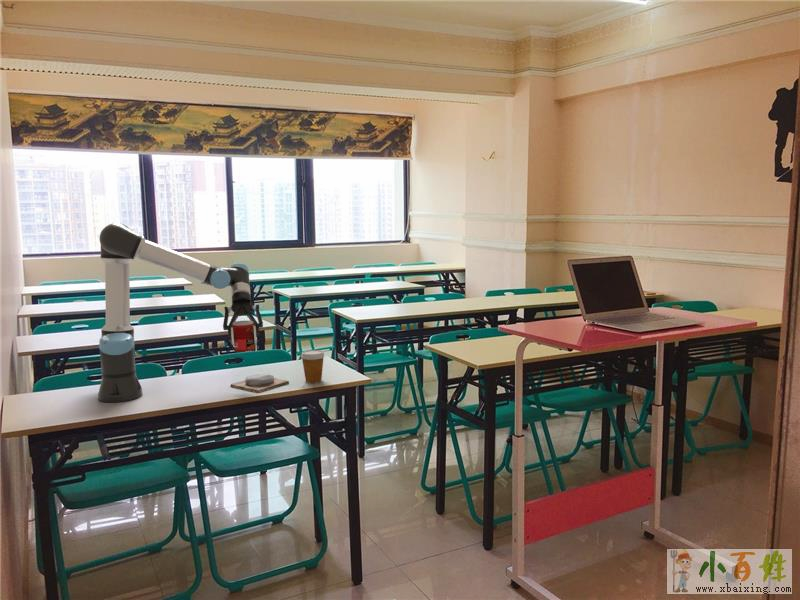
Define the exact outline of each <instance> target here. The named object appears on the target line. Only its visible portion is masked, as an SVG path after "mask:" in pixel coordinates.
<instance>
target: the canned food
mask: <svg viewBox="0 0 800 600" xmlns="http://www.w3.org/2000/svg"><path fill="white" fill-rule="evenodd" d="M233 335H234V345H233V346H234V348H233V349H234V351H235V352H239V353H241V352H243V353H245V352H251V351H254V350H255V346H256V345H255V344H256V343H255V340H254V325H253V321H250V320H236V321H235V322H233Z"/></svg>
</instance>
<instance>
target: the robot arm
mask: <svg viewBox="0 0 800 600" xmlns="http://www.w3.org/2000/svg"><path fill="white" fill-rule="evenodd" d="M98 240H99V244H100V259H101V260H102V261H103V262H104V271H105V272H104V274H105V275H104V278H105V279H104V280H105V282H104V283H105V285H104V286H105V287H104V288H105V289H104V290H105V296H104V297H105V302H104V303H105V324H104V325H103V327H101V331H100V332H101V336H100V339H99V340H98V341H99V342H98V349H99V357H100V369H101V371H100V372H101V381H100V384H99V389H98V393H97V396H98V397H97V398H98V401H99V402H103V403H119V402H127V401H131V400H134V399H138V398H140V397H141V396H143V387H142V386H141V383H140V381H139V378H138V377H137V374H136V373H137V371H136V369H137V368H136V360H135V359H136V357H135V327H134V326H132V325H131V324H130V323H131V321H130V318H131V316H130V313H131V312H130V309H131V308H130V303H131V302H130V301H131V300H130V298H131V297H130V293H131V292H130V287H131V286H130V263H131V262H132V261H135V260H137V259H139V260H141V261H144V262H147V263H149V264H152V265H154V266H158V267H159V268H163V269H166V270H168V271H171V272H174V273H176V274H179V275H182V276H185V277H187V278H189V279H193V280H195V281H198V282H200V284H202V285H206V286H211V287H213V288H215V289H217V290H223V289H225V288H227V287H230V290H231V306H230V307H228V306H223V307H224V318H223V324H222V327H223V330H224V331H228V332H227V335H228V338H231V346H234V335H233V322H236V321H237V319H238V318H239V317H241V316H246V317H247V318H248V319H249V321H253V326H254V342H255V344H257V342H258V341H257V339H258V338H257V336H259V335H260V329H262V328H263V327H264V322H263V319H262V315H261V313H260V304H256V305H254V304H252V297H251V285H250V273H249V272H250V271H249V267H248V266H247V265H246V264H245V263H244V262H243V263H242V262H236V263H233V264H232V265H231V266H230V267H221V266H215V265H212V264H209V263H207V262H204V261H201V260H200V259H197V258H194V257H191V256H189V255H186V254H183V253H181V252H179V251H175V250H174V249H171V248H168V247H165V246H163V245H161V244H158V243H155V242H153V241H150V240H147V239H146V238H145V237H144V235H142V234H140V233H137V232H135V231H134V230H131V228H130V227H128V226H127V225H125V224H122V223H117V222H116V223H115V222H112V223H110V224H108V225H106V226H104V227H103V229H102V230H100V235H99V239H98ZM252 310H253V311H254V312H255V314H256V318H257V320H256V318H255V317H254V315H253V314H252ZM231 311H232V312H233V315H232V317H231V319H230V320H229V315H230V313H231ZM257 321H258V322H257ZM228 322H229V324H228Z"/></svg>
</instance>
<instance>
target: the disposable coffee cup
mask: <svg viewBox="0 0 800 600" xmlns="http://www.w3.org/2000/svg"><path fill="white" fill-rule="evenodd" d="M300 357H301V360H302V366H303V367H302V368H303V372H304V378H305V382H306V383H309V384H317V383H321V382H322V377H323V367H324V358H325V352H324V351H323V350H321V349H320V350H319V349H308V350H304V351H302V352H301V355H300ZM320 381H321V382H320Z"/></svg>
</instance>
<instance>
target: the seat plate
mask: <svg viewBox="0 0 800 600" xmlns="http://www.w3.org/2000/svg"><path fill="white" fill-rule="evenodd" d="M287 383H290V381H289V380H286V379H282V378H280V379H279V378H276V377H275V378H274V375H272V374H269V373H268V374H266V373H265V374H264V373H263V374H262V373H261V374H259V373H258V374H252V375H249V376H247V377H245V380H241V381H237V382H235V383H231V384H230V387H231V388H235V389H239V390H243V389H245V390H244V391H248V390H250V391H249V392H252V391H255V392H254V393H257V392H259V393H261V392H260V391H262V392H264V391H263V390H266V391H268V390H267V389H269V390H271V389H270V388H272V389H275V388H274V387H276V388H278V387H277V386H279V387H281V386H280V385H282V386H284V385H283V384H285V385H288V384H287Z"/></svg>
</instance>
